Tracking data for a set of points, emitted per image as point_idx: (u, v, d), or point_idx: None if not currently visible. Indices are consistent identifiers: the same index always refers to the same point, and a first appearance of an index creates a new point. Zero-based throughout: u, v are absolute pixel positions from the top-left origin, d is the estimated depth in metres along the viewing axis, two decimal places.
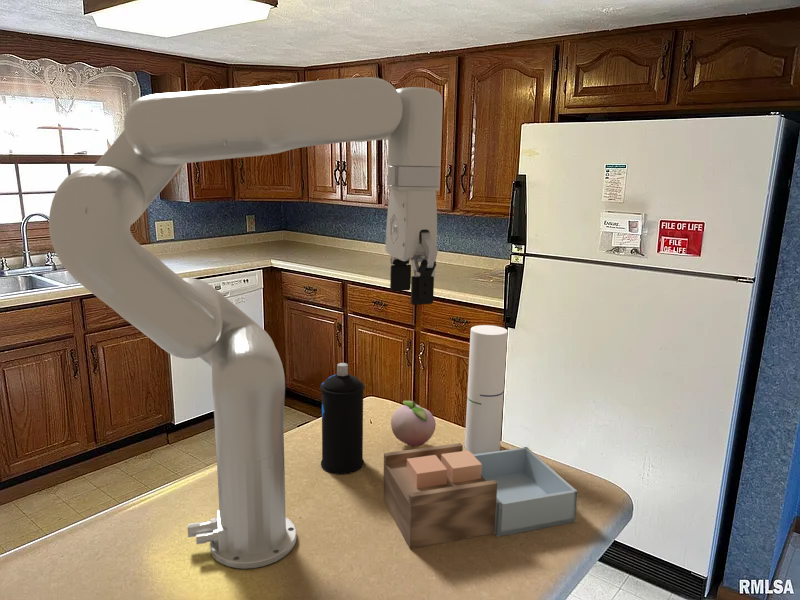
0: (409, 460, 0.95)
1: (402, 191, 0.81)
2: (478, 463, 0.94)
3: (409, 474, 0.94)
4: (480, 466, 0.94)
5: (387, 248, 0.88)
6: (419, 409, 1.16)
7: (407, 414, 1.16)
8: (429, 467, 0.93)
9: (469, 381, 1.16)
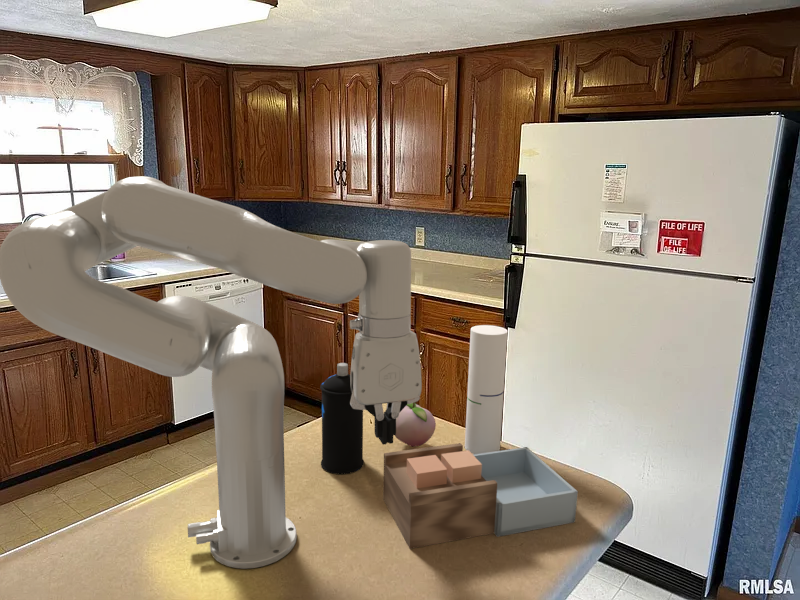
0: (409, 460, 0.95)
1: (406, 338, 0.85)
2: (478, 463, 0.94)
3: (409, 474, 0.94)
4: (480, 466, 0.94)
5: (369, 399, 0.85)
6: (419, 409, 1.16)
7: (407, 414, 1.16)
8: (429, 467, 0.93)
9: (469, 381, 1.16)
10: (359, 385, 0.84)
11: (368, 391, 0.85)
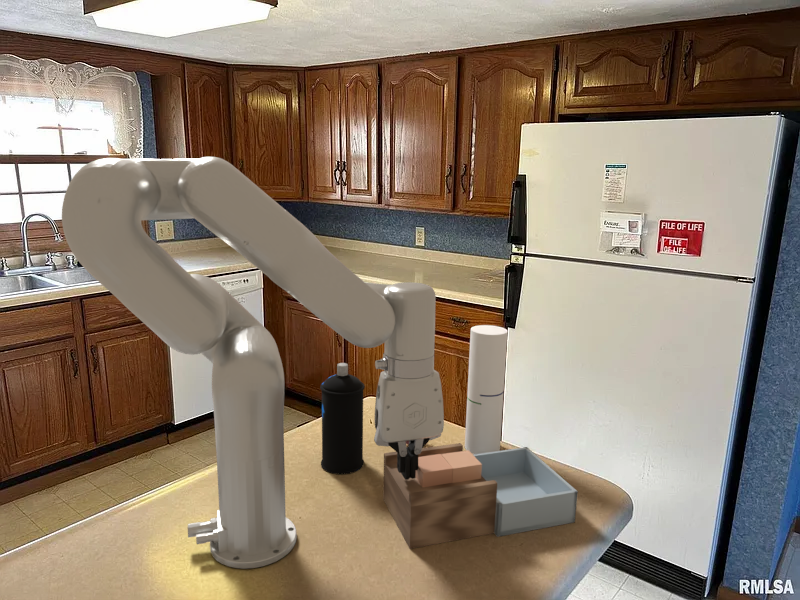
0: None
1: (430, 378, 0.88)
2: (478, 463, 0.94)
3: None
4: (480, 466, 0.94)
5: (394, 437, 0.88)
6: None
7: None
8: (435, 466, 0.93)
9: (469, 381, 1.16)
10: (384, 423, 0.87)
11: (393, 429, 0.87)
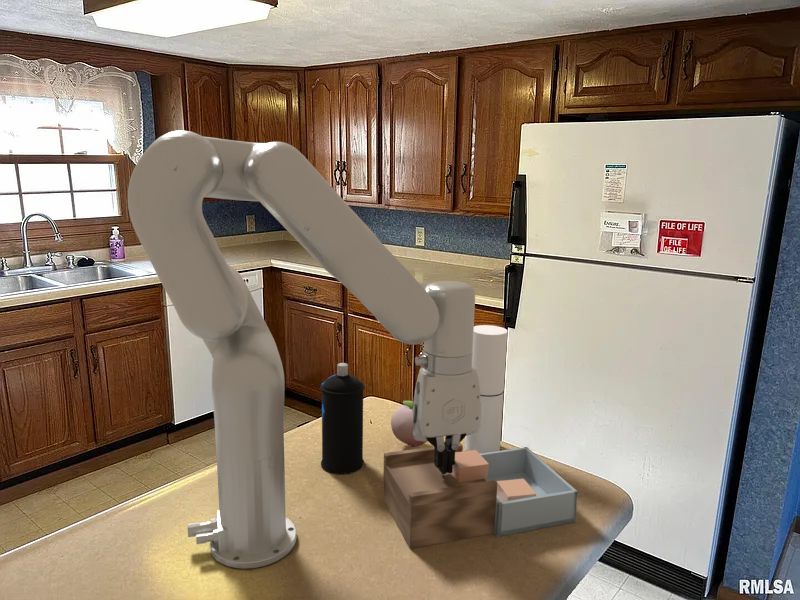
0: None
1: (469, 374, 0.90)
2: None
3: None
4: None
5: (433, 432, 0.90)
6: None
7: (407, 414, 1.16)
8: (471, 461, 0.95)
9: None
10: (424, 419, 0.89)
11: (432, 424, 0.89)
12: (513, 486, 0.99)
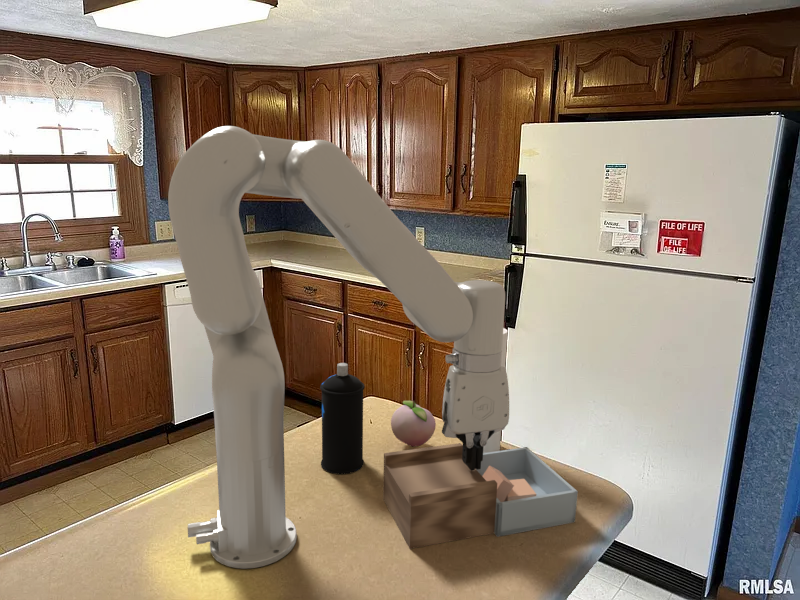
0: (500, 473, 1.00)
1: (498, 372, 0.91)
2: None
3: (495, 470, 0.99)
4: None
5: (463, 429, 0.91)
6: (419, 409, 1.16)
7: (407, 414, 1.16)
8: None
9: None
10: (454, 416, 0.90)
11: (462, 421, 0.91)
12: None
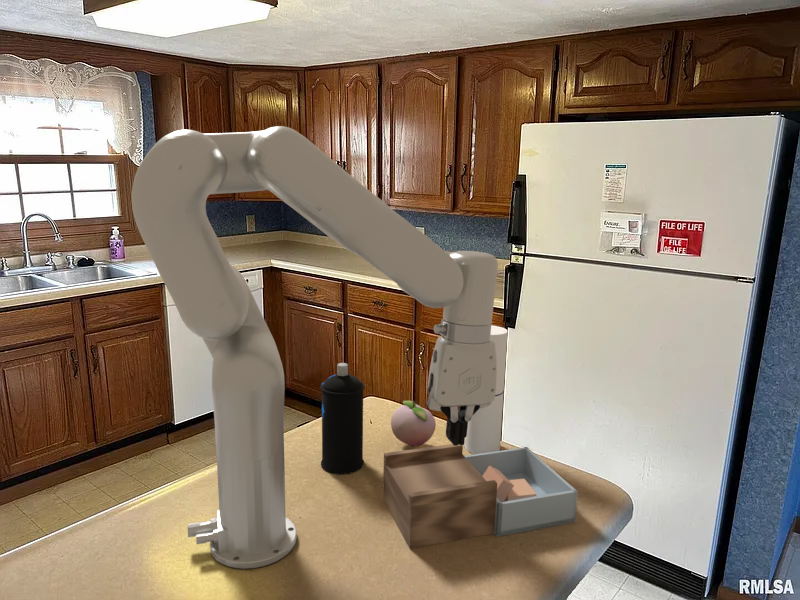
0: (500, 473, 1.00)
1: (486, 345, 0.89)
2: None
3: (495, 470, 0.99)
4: None
5: (448, 401, 0.89)
6: (419, 409, 1.16)
7: (407, 414, 1.16)
8: None
9: None
10: (440, 387, 0.88)
11: (448, 393, 0.89)
12: None
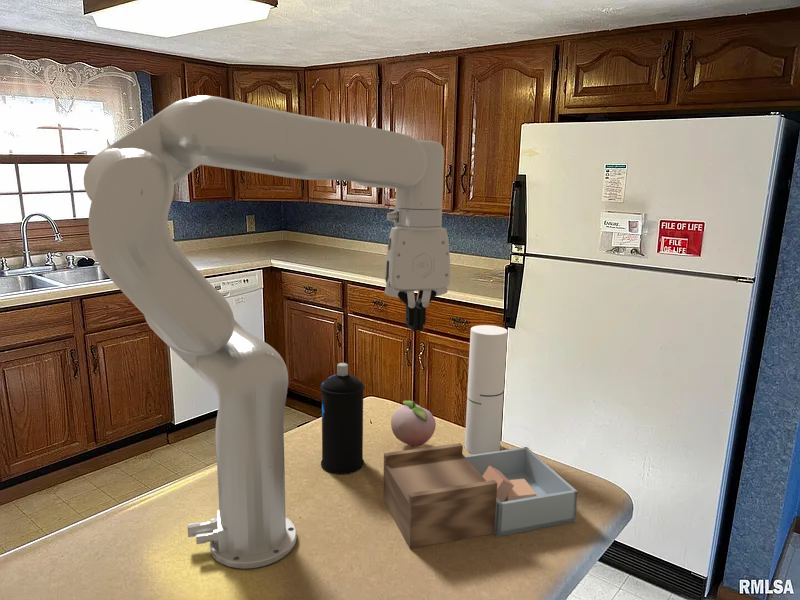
0: (500, 473, 1.00)
1: (438, 230, 0.94)
2: None
3: (495, 470, 0.99)
4: None
5: (403, 285, 0.94)
6: (419, 409, 1.16)
7: (407, 414, 1.16)
8: None
9: (469, 381, 1.16)
10: (395, 271, 0.93)
11: (402, 277, 0.93)
12: None
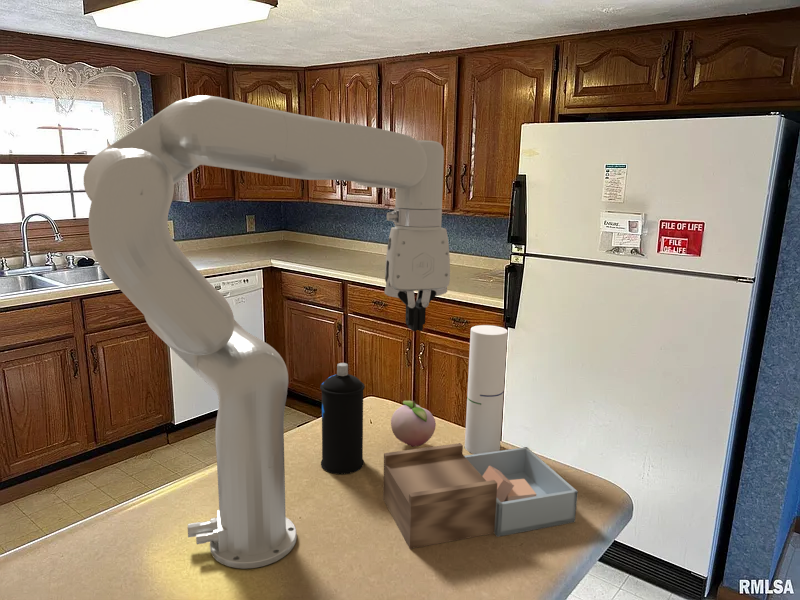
0: (500, 473, 1.00)
1: (438, 230, 0.94)
2: None
3: (495, 470, 0.99)
4: None
5: (403, 285, 0.94)
6: (419, 409, 1.16)
7: (407, 414, 1.16)
8: None
9: (469, 381, 1.16)
10: (394, 271, 0.93)
11: (402, 277, 0.93)
12: None
